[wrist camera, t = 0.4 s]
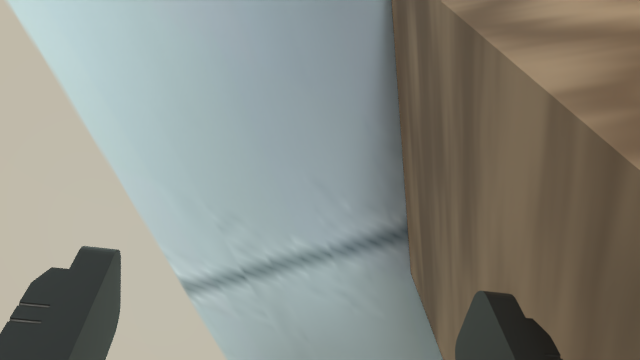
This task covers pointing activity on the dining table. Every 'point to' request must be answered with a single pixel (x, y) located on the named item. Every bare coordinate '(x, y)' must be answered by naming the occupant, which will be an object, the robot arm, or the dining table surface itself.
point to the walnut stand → (524, 164)
